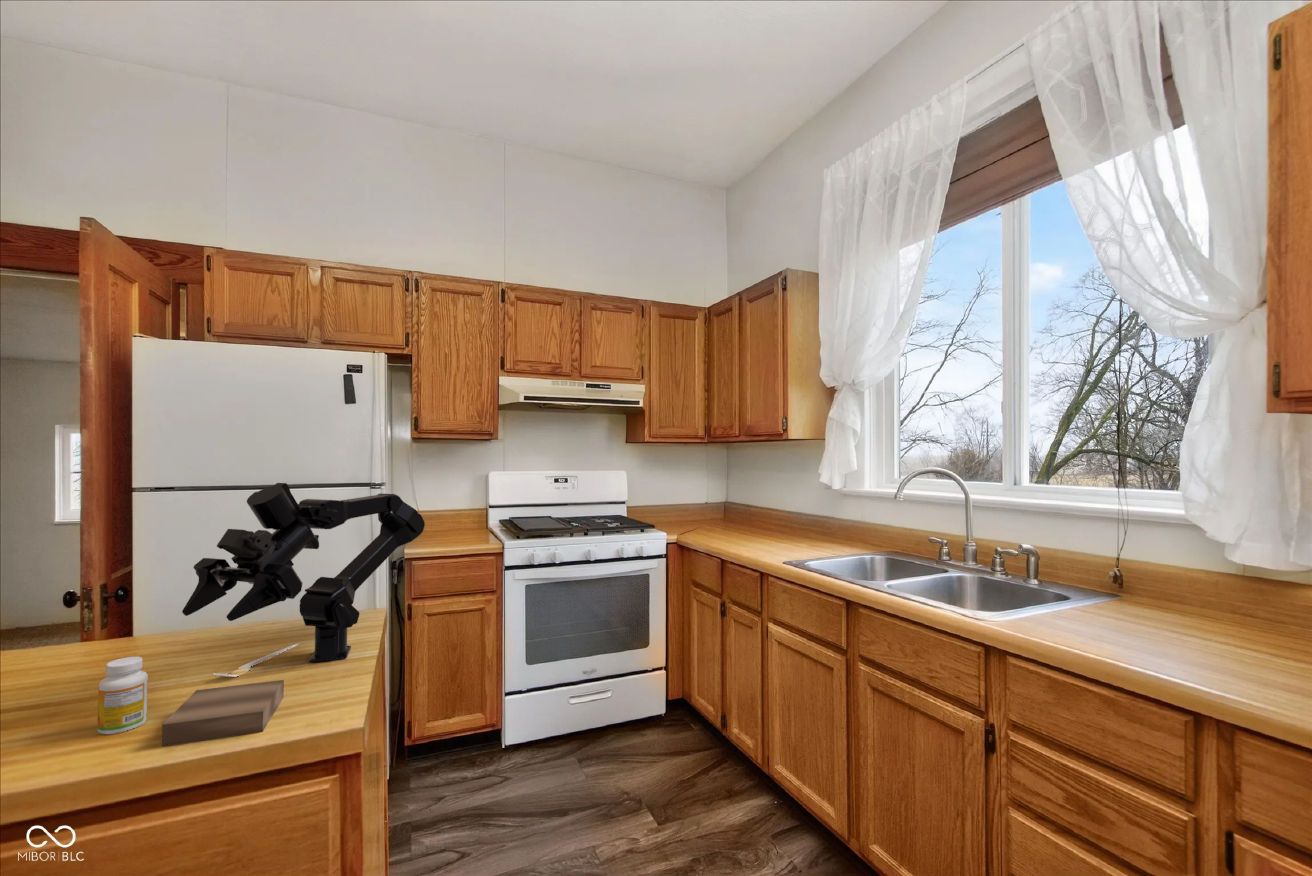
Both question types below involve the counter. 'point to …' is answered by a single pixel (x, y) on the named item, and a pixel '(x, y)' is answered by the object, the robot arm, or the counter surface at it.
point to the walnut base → (223, 712)
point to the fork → (256, 661)
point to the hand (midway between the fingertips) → (206, 616)
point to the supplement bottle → (122, 696)
